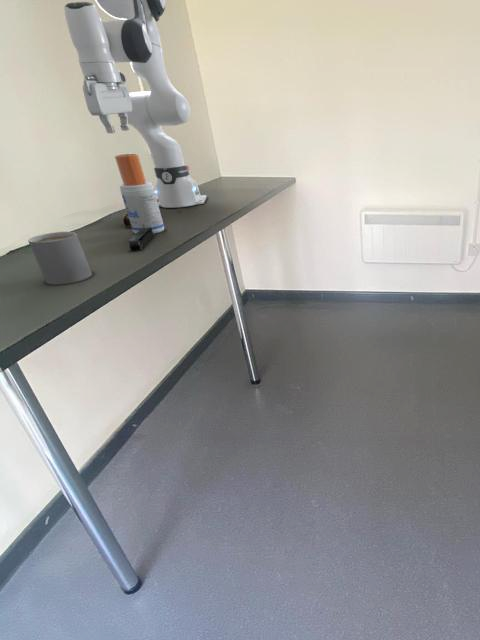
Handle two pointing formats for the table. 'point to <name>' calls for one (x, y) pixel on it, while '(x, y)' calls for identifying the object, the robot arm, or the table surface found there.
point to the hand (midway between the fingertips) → (118, 131)
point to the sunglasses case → (127, 221)
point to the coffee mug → (60, 257)
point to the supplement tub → (142, 207)
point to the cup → (130, 169)
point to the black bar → (141, 239)
